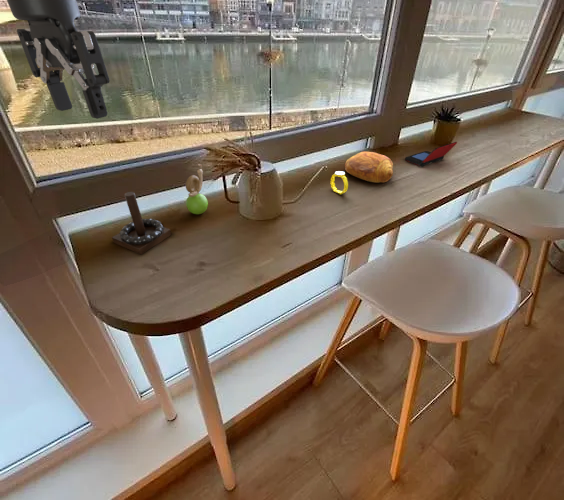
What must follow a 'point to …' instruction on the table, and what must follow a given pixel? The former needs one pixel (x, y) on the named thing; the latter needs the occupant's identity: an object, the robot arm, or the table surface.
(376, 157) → the bread loaf
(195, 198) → the snail figurine
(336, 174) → the gold gemstone ring
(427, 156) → the handheld console
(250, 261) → the table surface
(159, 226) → the hang ring
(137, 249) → the stand
